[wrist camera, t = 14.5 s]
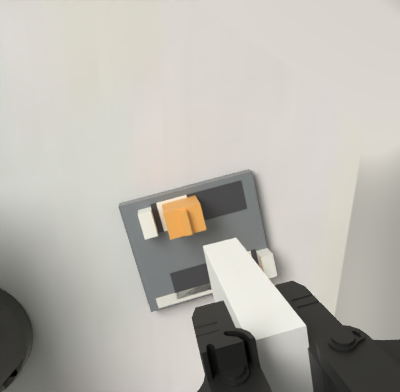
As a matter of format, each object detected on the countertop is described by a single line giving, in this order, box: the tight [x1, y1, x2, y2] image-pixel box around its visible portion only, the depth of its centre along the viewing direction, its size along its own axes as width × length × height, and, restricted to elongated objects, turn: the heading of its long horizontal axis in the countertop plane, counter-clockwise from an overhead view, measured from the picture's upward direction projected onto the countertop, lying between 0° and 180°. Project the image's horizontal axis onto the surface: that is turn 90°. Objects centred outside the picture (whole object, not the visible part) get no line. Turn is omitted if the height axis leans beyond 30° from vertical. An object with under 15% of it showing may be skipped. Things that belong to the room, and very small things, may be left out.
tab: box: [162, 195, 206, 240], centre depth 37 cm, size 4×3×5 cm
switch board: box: [119, 169, 277, 312], centre depth 41 cm, size 16×14×4 cm
